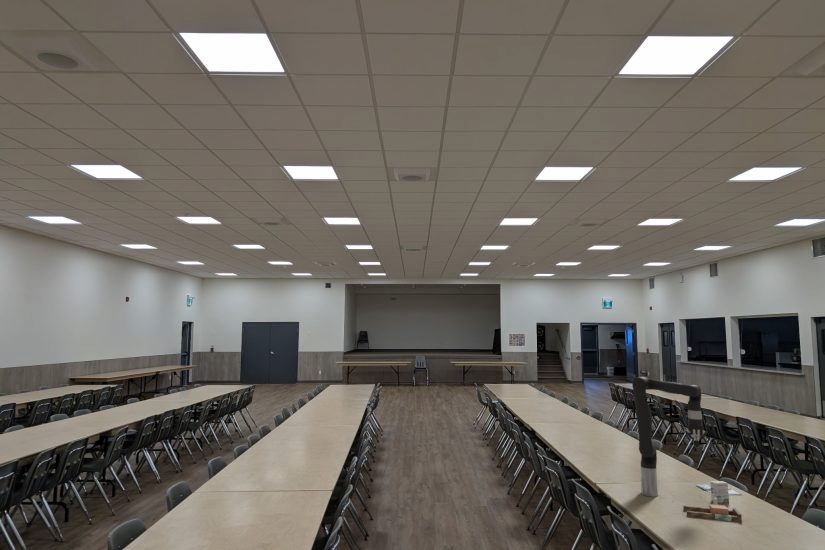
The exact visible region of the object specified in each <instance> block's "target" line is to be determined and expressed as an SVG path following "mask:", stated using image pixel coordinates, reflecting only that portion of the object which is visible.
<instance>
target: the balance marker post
mask: <svg viewBox="0 0 825 550" xmlns="http://www.w3.org/2000/svg"><path fill="white" fill-rule="evenodd" d="M712 502H713V505H719V503H717V498H713V501H712Z"/></svg>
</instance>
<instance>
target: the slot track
mask: <svg viewBox="0 0 825 550" xmlns="http://www.w3.org/2000/svg"><path fill="white" fill-rule="evenodd" d="M682 507H683V508H682V510H683V511H684V512H686V516H687V517H689V516H691V517H692V518H699V519H700V518H701V519H710V520H719V521H726V522H727V521H728V522H737V523H743V519H742V516H743V515H742V513H740V512H739V510H738V509H737V508H736V507H732V508H731V509H732V510H731V509H728V512H729V515H721V514H712V513H710V507H702V506H694V505H693V506H691V505H684V504H683V506H682Z"/></svg>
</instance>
